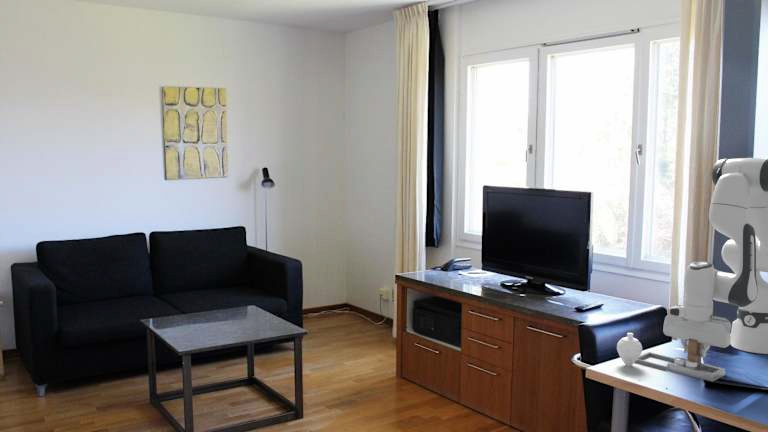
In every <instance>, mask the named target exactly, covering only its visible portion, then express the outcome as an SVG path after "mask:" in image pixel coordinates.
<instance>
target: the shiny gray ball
mask: <svg viewBox="0 0 768 432" xmlns="http://www.w3.org/2000/svg"><path fill="white" fill-rule="evenodd" d="M674 358H675V359H674V362H673V363H674V364H678V365H682V366H685V362H686V359H687V358H684V357H679V356H678V357H674Z"/></svg>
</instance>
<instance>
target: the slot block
mask: <svg viewBox="0 0 768 432" xmlns="http://www.w3.org/2000/svg"><path fill="white" fill-rule="evenodd" d="M685 359H686V360H687V358H685ZM666 366H667V370H666V371H669V372H674V373H677V374H681V375H685V376H690V377H693V378H697V379H701V380H704V381H709V382H712V383H714V382H715V381H717V380H719V379H721V378H723V377H725V375H726V368H723V367H719V366H714V365H711V364H707V363H702V362H701V363H699V362H698V363H697V369H694V368H690V367H686V366H682V365H678V364H674V362H668V363H667V365H666Z"/></svg>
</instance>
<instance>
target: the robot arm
mask: <svg viewBox="0 0 768 432" xmlns="http://www.w3.org/2000/svg"><path fill="white" fill-rule="evenodd" d="M711 181H712V183H713V184H714V186H715V187H714V190H713V193H712V196H711V201H710V206H709V211H708V221H709V223H710V225H711V227H712V228H714V230H715V231H717V232H718V233H720V234H722V235H723V236H726V238H727V237H728V238H729V239H728V240H726V242H725V243H724V244H723V246H722V249H721V258H722V260H723V262H724V264H725V265H727V266H728V267H729V268H730V269H731V270H732V272H733V273H731V272H727V271H725V272H724V271H721V270H718V269H716V268H715V266H714V264H713V263H711V262H709V261H700V260H699V261H693V262H691V263H689V264H687V267H686V270H685V275H684V281H683V282H684V284H683V291H684V298H683V300H682V304H679V305H674V306H670V307H668V308H667V309H666V313H667V315H666V316H665V317H664V322H663V327H662V328H663V329H662V331H663V334H664V335H665V336H667V337H672V338H673V337H674V338H676V339H680V343H681V344H682V347H683V349H684V351H683V353H684V354H688V342H689V339H694V340H697V342H699V343H702V350H701V351H699V356H701V358H705V357H706V356H707V352H708V350H709V349H710V347H711V346H712V347H717V348H722V349H723V348H724V349H725V348H727V347H729V346H731V347H732V348H734V349H737V350H740V351H743V352H748V353H752V354H753V353H755V354H762V355H763V354H764V355H768V281H766V280H765V279H764V278H763V277H762V275H761V272H762V273H768V159H766V158H759V157H758V158H757V157H742V158H741V157H740V158H739V157H738V158H730V157H727V158H726V157H725V158H722V159H718V160H717V161H716V162H715V163H714V165H713V166H712V169H711ZM713 300H714V301H716V302H722V303H726V304H729V305H733V306H736V307H737V311H736V319H735V320H734V321H732V323H731V321H730V320H729V319H727V318H726V317H720V316H717V315H713V314H714V313H713V312H714V301H713Z"/></svg>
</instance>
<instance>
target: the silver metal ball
mask: <svg viewBox="0 0 768 432" xmlns="http://www.w3.org/2000/svg"><path fill="white" fill-rule="evenodd" d="M697 363H698V362H696V361H693V360H686V362H685V366H686V367H690V368H694V369H697Z"/></svg>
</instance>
